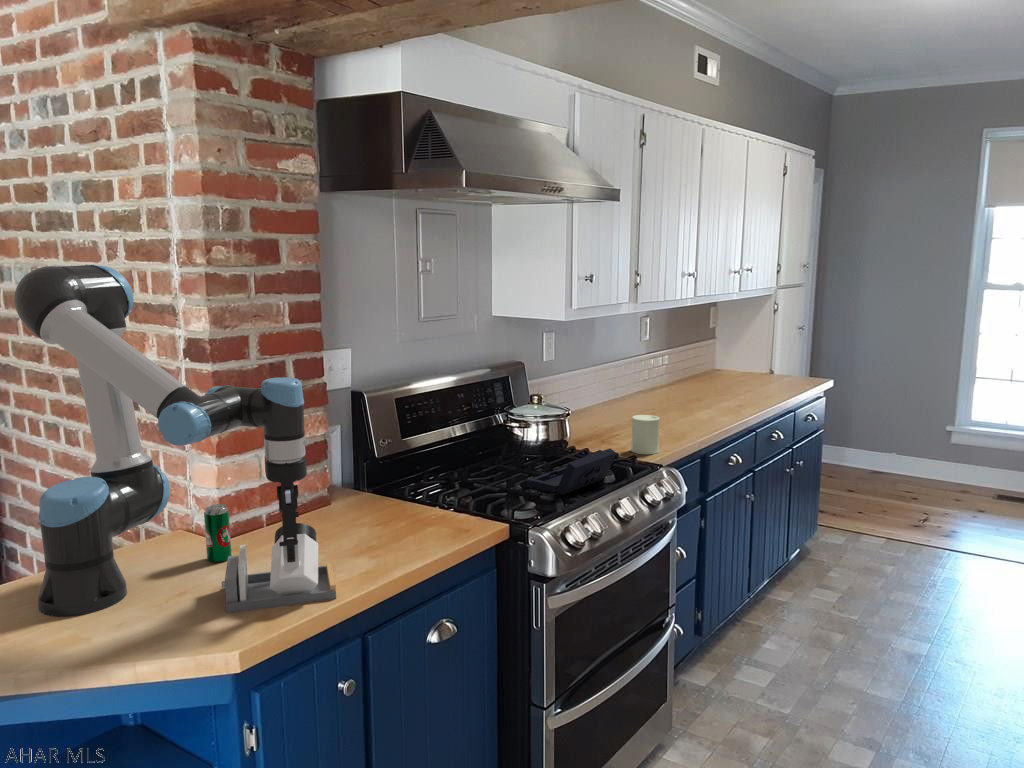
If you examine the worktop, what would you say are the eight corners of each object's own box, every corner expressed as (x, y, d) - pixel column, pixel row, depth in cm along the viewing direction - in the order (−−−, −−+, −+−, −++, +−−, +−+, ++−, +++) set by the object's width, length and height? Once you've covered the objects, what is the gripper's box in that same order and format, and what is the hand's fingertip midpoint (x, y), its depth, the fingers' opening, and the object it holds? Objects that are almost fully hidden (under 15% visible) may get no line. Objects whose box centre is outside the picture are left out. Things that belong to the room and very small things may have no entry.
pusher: (220, 609, 148) (218, 569, 146) (224, 584, 158) (221, 546, 157) (246, 606, 149) (243, 566, 148) (248, 582, 160) (245, 544, 158)
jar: (319, 595, 154) (320, 543, 162) (316, 574, 148) (317, 520, 156) (272, 599, 152) (275, 546, 160) (267, 578, 147) (270, 524, 155)
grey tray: (226, 615, 147) (224, 581, 146) (230, 587, 160) (228, 555, 158) (336, 602, 153) (335, 568, 152) (331, 575, 165) (330, 544, 164)
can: (661, 454, 261) (662, 419, 259) (633, 454, 261) (634, 419, 259) (656, 447, 270) (657, 413, 268) (629, 447, 270) (630, 413, 268)
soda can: (206, 557, 175) (203, 505, 173) (230, 553, 177) (227, 502, 175) (207, 565, 171) (204, 512, 169) (232, 561, 173) (229, 509, 170)
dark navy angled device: (570, 472, 242) (571, 440, 240) (615, 482, 231) (616, 449, 230) (528, 488, 226) (528, 454, 224) (574, 499, 216) (575, 464, 214)
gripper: (308, 474, 141) (313, 586, 145) (303, 441, 165) (308, 538, 169) (264, 478, 139) (271, 591, 143) (265, 444, 163) (271, 542, 167)
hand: (291, 562), depth 156 cm, fingers open, 13 cm apart
